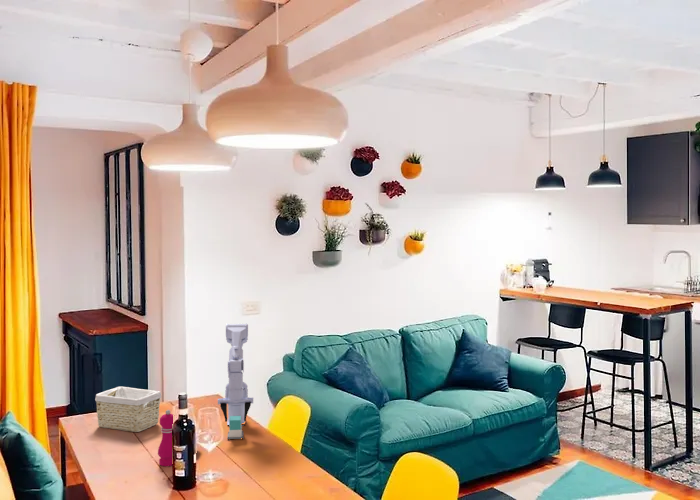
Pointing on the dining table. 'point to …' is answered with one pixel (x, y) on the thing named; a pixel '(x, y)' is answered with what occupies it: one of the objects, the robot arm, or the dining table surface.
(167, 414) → the pepper mill
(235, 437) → the baseplate
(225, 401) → the robot arm
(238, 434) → the cream brick
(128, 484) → the dining table surface
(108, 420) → the storage basket
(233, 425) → the teal brick
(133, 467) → the dining table surface
